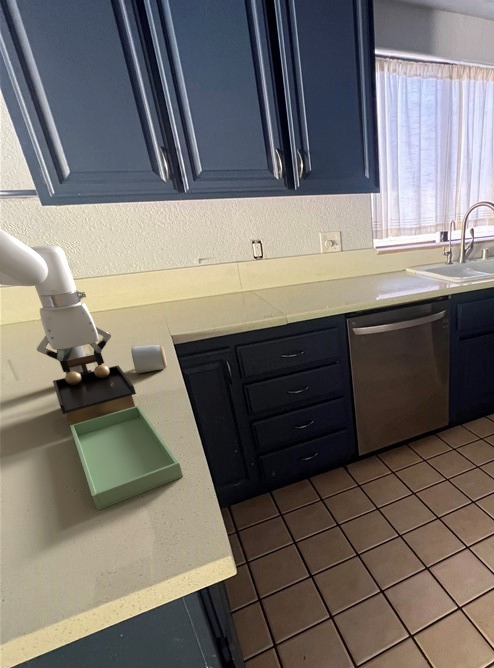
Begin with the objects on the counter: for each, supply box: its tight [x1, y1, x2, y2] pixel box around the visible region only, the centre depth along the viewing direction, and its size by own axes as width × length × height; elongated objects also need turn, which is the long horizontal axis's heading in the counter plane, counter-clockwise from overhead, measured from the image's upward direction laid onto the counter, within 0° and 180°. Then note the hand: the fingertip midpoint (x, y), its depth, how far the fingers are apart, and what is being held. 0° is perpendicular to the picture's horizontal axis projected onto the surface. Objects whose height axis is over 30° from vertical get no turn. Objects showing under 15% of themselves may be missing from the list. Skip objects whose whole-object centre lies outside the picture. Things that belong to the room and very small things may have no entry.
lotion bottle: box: [64, 345, 91, 375], centre depth 116 cm, size 6×6×20 cm
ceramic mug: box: [131, 344, 168, 374], centre depth 125 cm, size 11×8×8 cm
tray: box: [69, 405, 184, 511], centre depth 82 cm, size 13×31×3 cm, turn 40°
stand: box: [66, 395, 136, 425], centre depth 103 cm, size 13×14×4 cm
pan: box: [52, 354, 137, 415], centre depth 101 cm, size 14×23×5 cm, turn 40°
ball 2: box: [93, 364, 110, 378], centre depth 106 cm, size 3×3×3 cm
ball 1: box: [64, 372, 81, 385], centre depth 103 cm, size 3×3×3 cm
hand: (85, 369), depth 109 cm, fingers closed on pan, 6 cm apart
